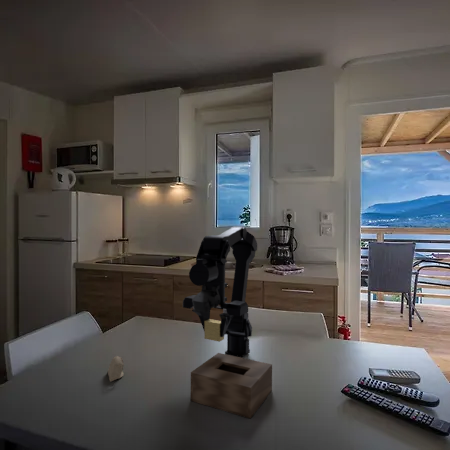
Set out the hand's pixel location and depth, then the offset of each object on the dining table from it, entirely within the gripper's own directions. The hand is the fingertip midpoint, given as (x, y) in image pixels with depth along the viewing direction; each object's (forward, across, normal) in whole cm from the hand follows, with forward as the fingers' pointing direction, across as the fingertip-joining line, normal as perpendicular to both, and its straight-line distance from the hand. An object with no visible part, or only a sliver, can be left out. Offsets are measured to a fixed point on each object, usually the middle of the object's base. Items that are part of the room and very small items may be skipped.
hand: (214, 335), depth 95 cm
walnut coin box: (+12, +10, -7) cm, 17 cm away
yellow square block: (+1, 0, 0) cm, 1 cm away
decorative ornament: (+12, -24, -14) cm, 30 cm away
